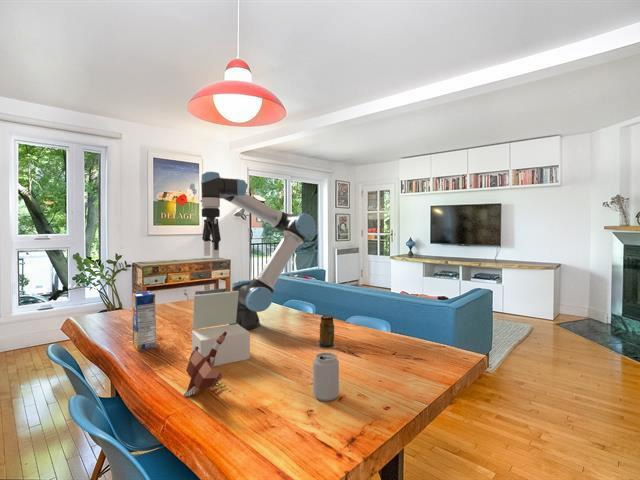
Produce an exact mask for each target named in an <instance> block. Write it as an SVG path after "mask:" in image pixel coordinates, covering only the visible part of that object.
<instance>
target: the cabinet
mask: <svg viewBox="0 0 640 480" xmlns="http://www.w3.org/2000/svg"><path fill="white" fill-rule="evenodd" d="M224 332H227V334H226V336H225V340H224V341H223V343H222V344H221V345H220V346H219V348H218V350H217V353H216V356H215V364H214V367H215V366H221V365H225V364H231V363H236V362H241V361H245V360H250V359H251V332H250V331H249V330H248V329H244V328H243V327H241V326H240V325H238V324H233V325H229V324H226V325H220V326H213V327H206V328H199V329H192V330H191V353H193V351H195V350H194V348H195V347H196V346H197V347H199V349H198V352H199V353H200V354H201V355H202V356H203V357H206V356H208V355H209V353H210V351H211V349H212V347H213V346H214V344H215V343H216V341H217V339H218V338H219V336H221V335H222V334H223V333H224Z"/></svg>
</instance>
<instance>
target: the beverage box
mask: <svg viewBox="0 0 640 480" xmlns="http://www.w3.org/2000/svg"><path fill="white" fill-rule="evenodd" d="M131 297H132V298H131V299H132V301H131V303H132V306H131V308H132V344H133V345H134V348H135V349H136V350H137V351H138V352H139V351H144V350H149V349H153V348H154V349H155V348H157V341H156V340H157V337H156V336H157V330H156V324H157V323H156V321H157V319H156V294H155V293H154V292H152V291H151V290H143V291H134V292H132V293H131Z"/></svg>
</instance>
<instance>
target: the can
mask: <svg viewBox="0 0 640 480" xmlns="http://www.w3.org/2000/svg"><path fill="white" fill-rule="evenodd" d="M337 357H338V356H337V354H335V353H332V352H321V353H320V352H319V353H317V354H315V358H314V359H313V362H312V364H313V365H312V367H313V368H312V369H313V370H312V371H313V373H312V375H313V377H312V378H313V379H312V380H313V382H312V383H313V384H312V386H313V387H312V390H313V391H312V392H313V393H312V394H313V396H314V397H315V398H316V399H317V400H319V401H322V402H331V401H333V400H335V399H336V398H338V396H339V394H340V391H339V389H340V386H339V385H340V379H339V378H340V376H339V375H340V372H339V371H340V364H339V362H340V361H339V360H338V358H337Z"/></svg>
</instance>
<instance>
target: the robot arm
mask: <svg viewBox="0 0 640 480" xmlns="http://www.w3.org/2000/svg"><path fill="white" fill-rule="evenodd" d="M200 181H201V182H200V183H201V199H200V200H199V202H200V203H201V217H202V218H206V219H203V230H202V240H203V257H206V256H207V257H208V256H209V257H210V256H211V258H212V259H219V258H220V241H221V240H222V239H221V232H220V227H219V226H220V225H219V217H221V216H220V215H221V213H220V211H221V210H220V207H221V204H220V203H221V199H223V200H225V201H226V202H228V203H229V202H230V203H231V204H232V205H235V206H237V207H239V208H241V209H242V210H244V211H246V212H248V213H250V214H252V215H253V216H255V217H257V218H259V219H261V220H262V221H264V222H266V223H269V224H270V226H271V227H272V228H274V229H275V230H277V231H278V232H280V233H282V234H283V237H282V238H281V240H280V242H279V243H278V245H277V246H276V247H275V249H274V251H273V253H272V254H271V255H270V258H269V259H268V260H267V262H266V264H265V265H264V267H263V268H262V270H261V271H260V273H259V275H258V276H255V277H254V276H253V278H252V279H245V280H235V281H233V282H232V287H231V289H232V290H231V292H232V291H239V294H238V305H237V316H236V323H233V324H238V325H240V326H241V327H243V328H244V329H246V330H251V329H252V330H253V329H256V328H258V327H259V326H260V324H261V322H260V318H259V315H258V313H260V312H261V313H262V312H264V311H266V310H268V308H270V306H271V304H272V303H273V293H274V292H275V285H276V283H277V281H278V280H279V278H280V276H281V274H282V273H283V271H284V269H285V267H286V266H287V264H288V263H289V261H290V260H291V259H292V257H293V255H294V254H295V252H296V249H297V248H298V247H299V245H303V244H305V243H304V242H305V241H306V239H307V238H310V237H311V236H313V235H314V233H315V232H316V226H317V225H316V222H315V219H314V218H313V216H312V215H310V214H309V213H303V212H300V213H286V212H283V211H282V210H276V209H274V208H273V207H271V206H269V205H267V204H266V203H263V202H262V201H260V200H258V199H257V198H255V197H253V196H251V195H249V194H248V193H247V189H248V188H247V182H246V180H245V179H239V178H225V177H224V178H223V177H221V176H220V173H219V172H217V171H204V172H202V174H201V180H200ZM233 324H228V325H233Z"/></svg>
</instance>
